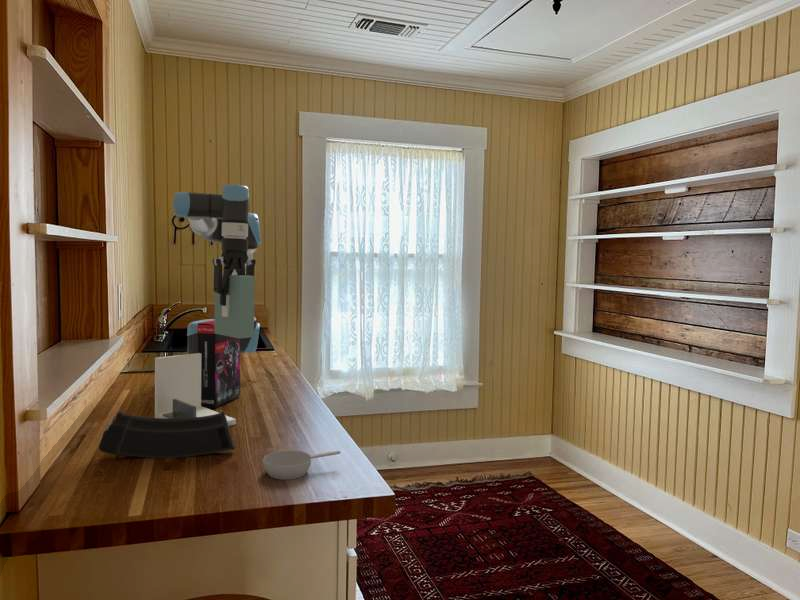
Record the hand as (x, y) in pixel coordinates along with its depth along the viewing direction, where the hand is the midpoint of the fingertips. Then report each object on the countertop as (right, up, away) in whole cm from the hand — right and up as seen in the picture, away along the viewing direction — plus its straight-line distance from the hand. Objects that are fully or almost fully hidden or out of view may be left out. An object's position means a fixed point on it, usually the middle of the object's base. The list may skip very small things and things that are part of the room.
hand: (233, 315), depth 175 cm
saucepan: (+27, -35, -39) cm, 59 cm away
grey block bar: (-14, -29, -7) cm, 33 cm away
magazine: (-7, -33, -33) cm, 47 cm away
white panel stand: (-10, -31, -4) cm, 33 cm away
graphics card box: (-10, -29, +19) cm, 36 cm away
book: (0, -6, 0) cm, 6 cm away
